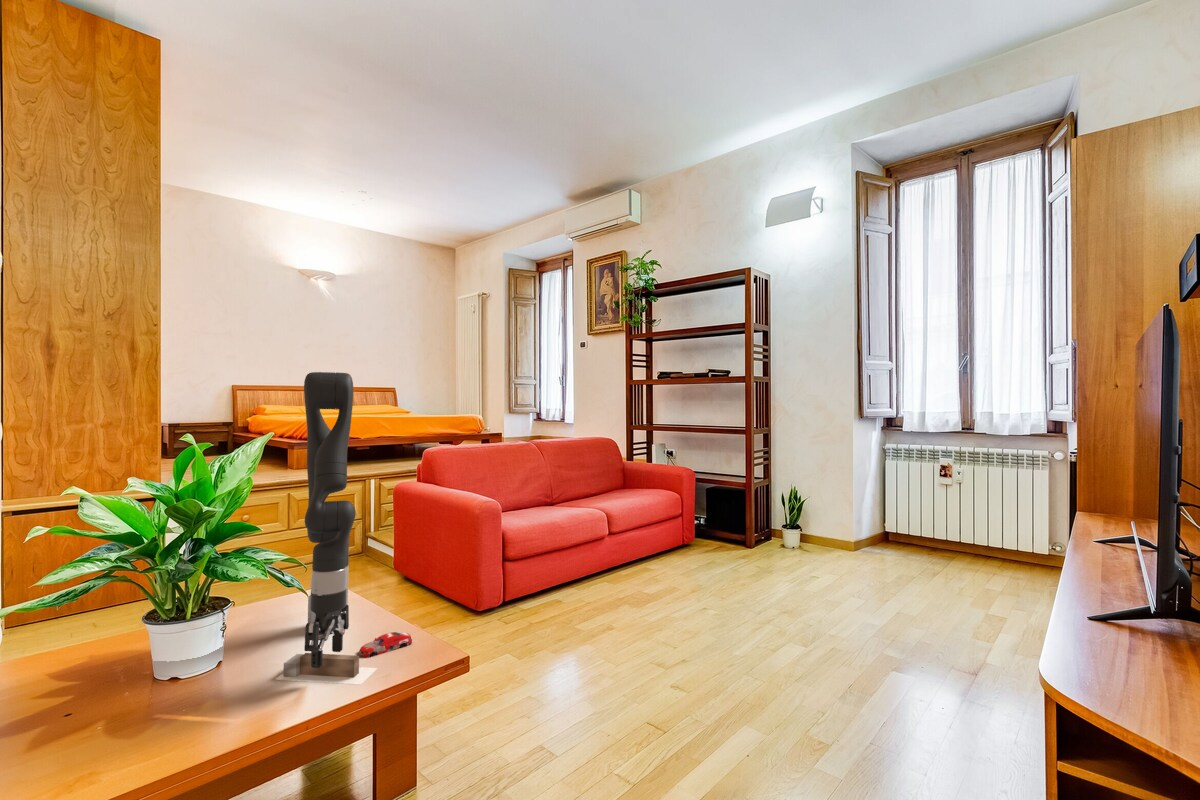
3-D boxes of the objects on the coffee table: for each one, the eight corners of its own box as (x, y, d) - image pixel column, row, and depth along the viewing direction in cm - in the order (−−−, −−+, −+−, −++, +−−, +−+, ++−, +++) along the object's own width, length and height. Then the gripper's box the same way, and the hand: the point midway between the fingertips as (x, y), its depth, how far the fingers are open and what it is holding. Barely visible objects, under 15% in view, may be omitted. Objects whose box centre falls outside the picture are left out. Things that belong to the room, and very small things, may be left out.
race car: (363, 663, 140) (363, 646, 140) (355, 655, 144) (355, 639, 144) (414, 647, 149) (415, 632, 149) (405, 641, 153) (405, 626, 153)
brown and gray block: (283, 676, 131) (283, 658, 131) (296, 666, 136) (297, 649, 136) (350, 680, 130) (351, 662, 130) (361, 670, 135) (362, 653, 135)
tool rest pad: (274, 682, 129) (274, 679, 129) (296, 666, 137) (296, 663, 137) (360, 687, 128) (360, 684, 128) (377, 670, 136) (377, 668, 136)
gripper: (330, 578, 140) (328, 646, 140) (294, 597, 126) (292, 672, 125) (359, 579, 139) (358, 647, 139) (327, 598, 125) (325, 673, 125)
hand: (327, 659), depth 132 cm, fingers open, 8 cm apart
